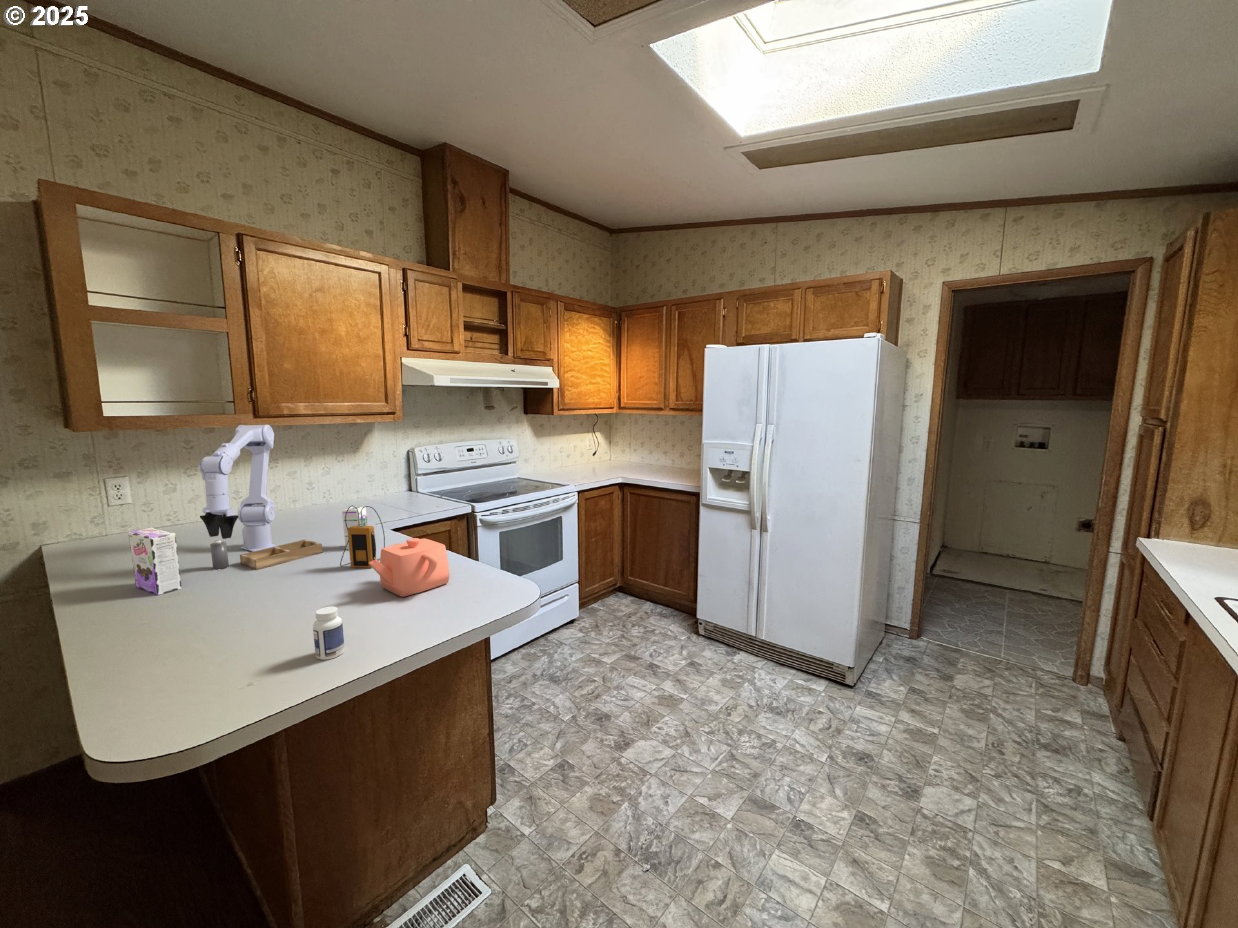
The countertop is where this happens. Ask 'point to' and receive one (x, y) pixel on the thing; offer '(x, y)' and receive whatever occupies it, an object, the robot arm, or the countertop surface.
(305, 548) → the cell tray
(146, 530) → the candy box
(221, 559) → the battery cell
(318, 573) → the countertop surface
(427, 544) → the teapot
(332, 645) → the pill bottle
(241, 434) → the robot arm
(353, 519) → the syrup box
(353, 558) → the multimeter
